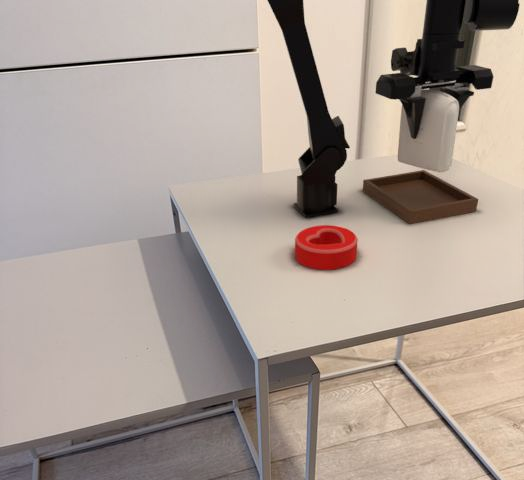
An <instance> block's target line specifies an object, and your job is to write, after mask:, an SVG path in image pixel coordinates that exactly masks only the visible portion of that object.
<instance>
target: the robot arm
mask: <svg viewBox="0 0 524 480" xmlns="http://www.w3.org/2000/svg"><path fill="white" fill-rule="evenodd" d="M267 2H268V5H269V6H270V9H271V11H272V13H273V15H274V17H275V20H276V21H277V24H278V25H279V27H280V30H281V32H282V37H283V40H284V43H285V46H286V49H287V50H286V51H287V53H288V57H289V60H290V64H291V66H292V67H291V68H292V70H293V73H294V76H295V80H296V81H295V82H296V84H297V86H298V91H299V94H300V98H301V101H302V104H303V108H304V111H305V115H306V123H307V135H308V142H309V146H308V148H306V150H305V151H304V152H303V153H302V154H301V155H300V156H299V158H298V160H297V161H298V165H299V169H300V173H301V174H300V175H297V176H296V202H295V203H294V202H293V207H294V208H295V209H296V210H297V211H298V212H299V213H300V214H301V215H303V216H304V218H312V217H318V216H319V217H320V216H323V215H329V214H334V213H338V212H339V208H338V207H336V206H337V205H338V183H337V182H336V174H337V171H339V170H340V169H341V168H342V167H344V165H345V163H346V161H347V159H348V152H347V151H348V150H347V149H351V148H350V147H351V146H350V144H349V143H348V141H347V139H346V135H345V134H346V133H345V125H344V123H343V121H342V119H341V118H340V116H339V115H337V116H334V117H333V118H332V117H331V114H330V111H329V107H328V104H327V101H326V97H325V94H324V89H323V86H322V81H321V78H320V74H319V70H318V68H317V63H316V60H315V56H314V52H313V48H312V45H311V40H310V37H309V34H308V30H307V26H306V20H305V7H304V5H305V4H304V0H267ZM519 11H520V2H519V0H426V4H425V12H424V20H423V28H422V35H421V38H417V40H416V42H415V47H414V48H415V49H414V50H412V51H408V49H407V47H396V48H394V49H392V51H391V58H390V68H391V69H390V70H391V71H392V72H396V71H399V72H396V73H385V74H380V75H379V76H378V77H379V78H378V79H377V80H376V83H375V94H376V95H378V96H380V97H383V98H387V99H388V100H399V102H400V103H401V106H402V105H403V107H404V110H405V113H406V117H407V122H408V126H409V131H410V135H411V138H412V139H416V137H417V134H418V131H419V127H420V123H421V118H422V114H423V110H424V105H425V101H426V98H423V97H421V90H425V89H437V88H439V91H441V92H444V93H446V94H449V95H450V96H452V97H454V98H455V99H456V100H457V101H458V103H459V111H461V109H462V107H463V106H464V105H465V103H466V102H467V101H468V99H469V98H470V97H473V96H474V95H475V91H473V90H470V88H471V86H472V87H473V88H474V89H475V90H478V91H480V90H487V89H488V90H489V89H492V87H493V81H494V74H493V70H492V69H491V68H489V67H484V66H481V65H476V64H470V65H460V66H456V65H457V60H458V53H459V49H464V47H465V41H466V40H462V39H461V34H462V27H463V23H464V24H466V25H467V24H468V29H469V30H470V31H471V32H476V31H477V32H479V31H498V30H510V29H511V28H512V27H513V25H515V22H516V20H517V17H518V14H519ZM414 76H415V77H414Z"/></svg>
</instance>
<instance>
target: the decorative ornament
mask: <svg viewBox="0 0 524 480" xmlns="http://www.w3.org/2000/svg"><path fill="white" fill-rule="evenodd" d="M358 242H359V241H358V237H357V235H356V233H354V231H352V230H350V229H349V228H346V227H342V226H339V225H338V226H337V225H329V224H326V225H325V224H323V225H321V224H320V225H314V226H310V227H307V228H304V229H302V230H301V231H299V232H298V233H297V235H296V236H295V238H294V258H295V260H296V261H297V262H298V263H299V264H300V265H302V266H304V267H306V268H308V269H314V270H321V271H333V270H339V269H343V268H346V267H348V266H351V265H352V264H354V262H355V261H356V260H357V254H358Z"/></svg>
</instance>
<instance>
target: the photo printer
mask: <svg viewBox="0 0 524 480" xmlns="http://www.w3.org/2000/svg"><path fill="white" fill-rule="evenodd" d="M421 97H423V98H426V101H425V105H424V110H423V114H422V118H421V123H420V127H419V131H418V134H417V137H416V139H412V138H411V135H410V131H409V126H408V122H407V117H406V113H405V110H404V107H403V105H402V104H401V109H400V123H399V134H398V148H397V162H399V163H402V164H403V165H404V164H405V165H408V166H412V167H416V168H419V169H422V170H426V171H432V172H436V173H445V172H448V171H450V168H451V167H452V164H453V157H454V149H455V142H456V136H457V135H456V134H457V128H458V121H459V113H460V110H459V103H458V101H457V100H456V99H455V98H454V97H452V96H450V95H449V94H446V93H444V92H441V91H440V90H436V89H431V88H429V89H422V90H421Z"/></svg>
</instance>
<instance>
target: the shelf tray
mask: <svg viewBox="0 0 524 480" xmlns="http://www.w3.org/2000/svg"><path fill="white" fill-rule="evenodd" d="M362 192H363V193H364V194H366V195H367V196H369V197H370V198H372V199H373V200H375V201H376V202H377V203H379V204H380V205H382V206H383V207H384V208H386V209H387V210H389V211H390V212H392V213H393V214H395V215H396V216H398V217H399V218H400V219H401V220H403V221H405V222H406V223H407V224H409V225H412V224H416V223H417V224H418V223H422V222H427V221H432V220H437V219H442V218H443V219H444V218H449V217H453V216H459V215H464V214H470V213H474V212H477V209H478V204H479V198H478V197H475V196H473V195H471V194H470V193H468V192H466V191H464V190H462V189H460V188H459V187H457V186H455V185H453V184H452V183H449V182H447V181H446V180H444V179H442V178H440V177H438V176H436V175H434V174H432V173H430V172H429V171H428V170H426V169H422V170H416V171H409V172H404V173H398V174H392V175H385V176H379V177H372V178H367V179H363V180H362Z"/></svg>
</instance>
